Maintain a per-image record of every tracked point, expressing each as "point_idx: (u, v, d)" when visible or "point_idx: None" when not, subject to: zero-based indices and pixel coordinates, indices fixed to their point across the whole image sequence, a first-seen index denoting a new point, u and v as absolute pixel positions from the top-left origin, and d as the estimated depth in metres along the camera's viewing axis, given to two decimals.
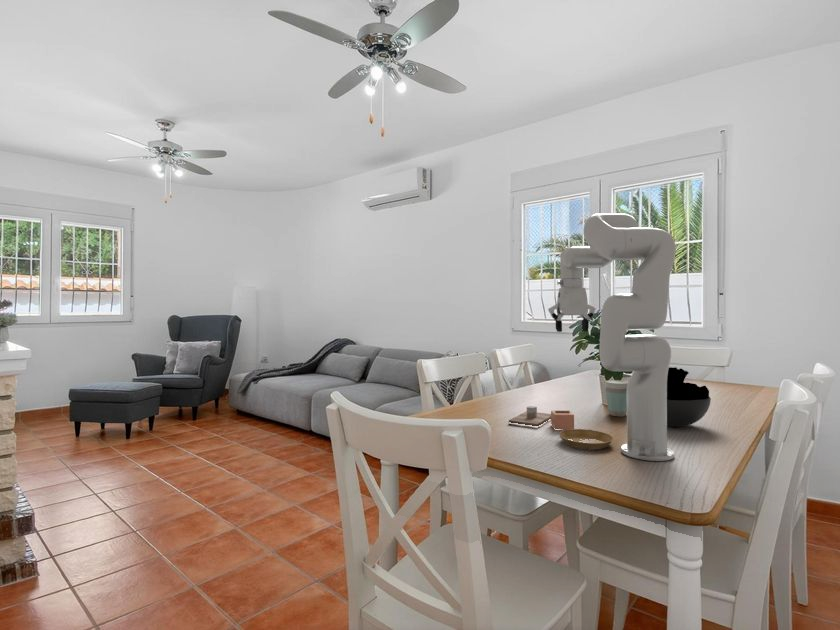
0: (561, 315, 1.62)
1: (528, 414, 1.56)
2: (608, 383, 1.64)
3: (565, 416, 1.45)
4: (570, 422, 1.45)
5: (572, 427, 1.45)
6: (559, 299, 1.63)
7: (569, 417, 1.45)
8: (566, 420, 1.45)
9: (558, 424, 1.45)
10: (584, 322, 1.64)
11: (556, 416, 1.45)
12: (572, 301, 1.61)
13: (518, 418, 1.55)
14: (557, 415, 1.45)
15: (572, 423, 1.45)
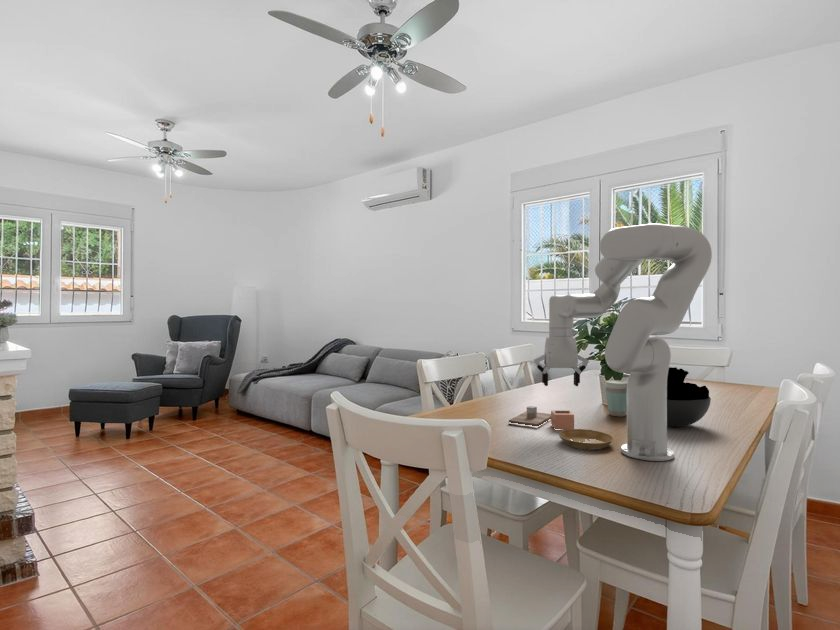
0: None
1: (528, 414, 1.56)
2: (608, 383, 1.64)
3: (565, 416, 1.45)
4: (570, 422, 1.45)
5: (572, 427, 1.45)
6: None
7: (569, 417, 1.45)
8: (566, 420, 1.45)
9: (558, 424, 1.45)
10: None
11: (556, 416, 1.45)
12: None
13: (518, 418, 1.55)
14: (557, 415, 1.45)
15: (572, 423, 1.45)
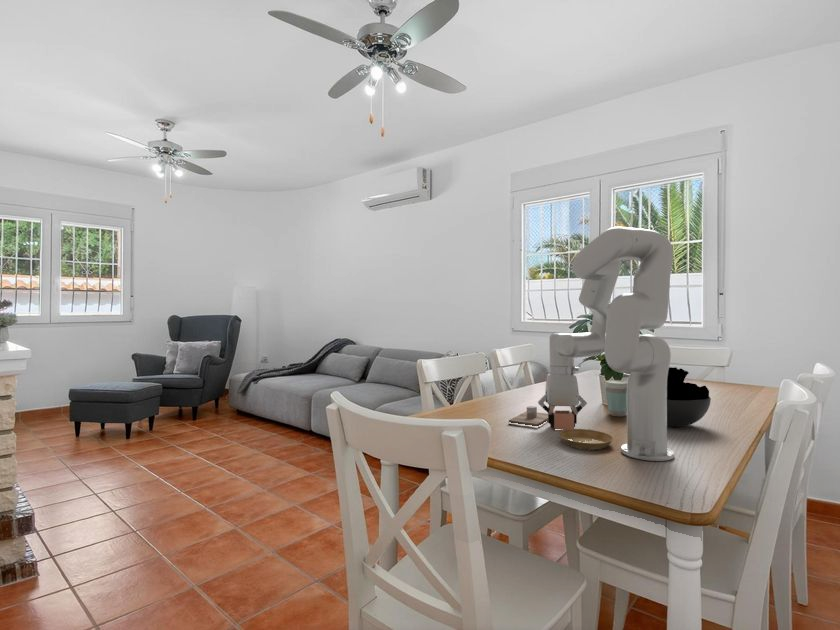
0: None
1: (528, 414, 1.56)
2: (608, 383, 1.64)
3: (565, 416, 1.45)
4: (570, 422, 1.45)
5: (572, 427, 1.45)
6: None
7: (569, 417, 1.45)
8: (566, 420, 1.45)
9: (558, 424, 1.45)
10: None
11: (556, 416, 1.45)
12: None
13: (518, 418, 1.55)
14: (557, 415, 1.45)
15: (572, 423, 1.45)
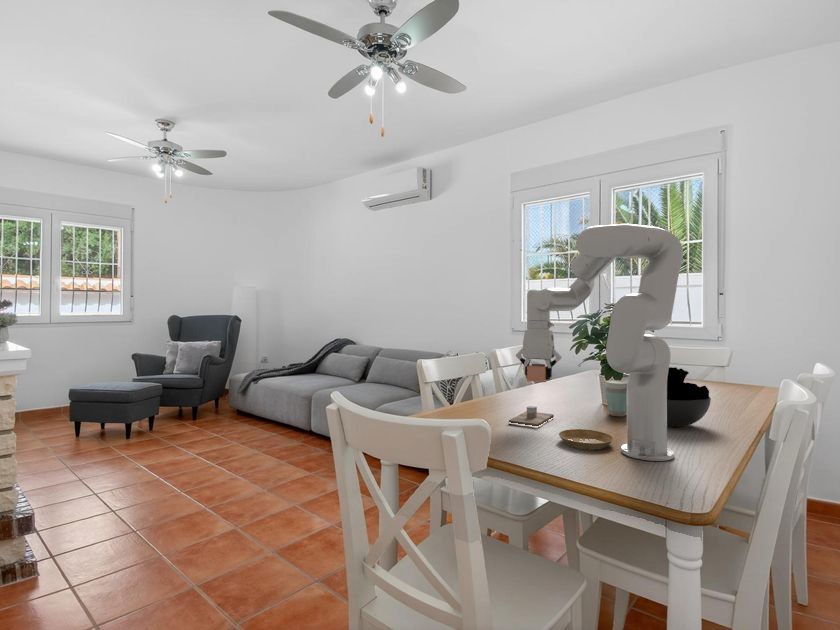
0: None
1: (528, 414, 1.56)
2: (608, 383, 1.64)
3: (536, 368, 1.52)
4: (541, 375, 1.51)
5: (543, 379, 1.51)
6: (553, 342, 1.53)
7: (540, 369, 1.51)
8: (537, 372, 1.52)
9: (530, 375, 1.53)
10: None
11: (528, 368, 1.53)
12: None
13: (518, 418, 1.55)
14: (529, 367, 1.53)
15: (543, 375, 1.51)
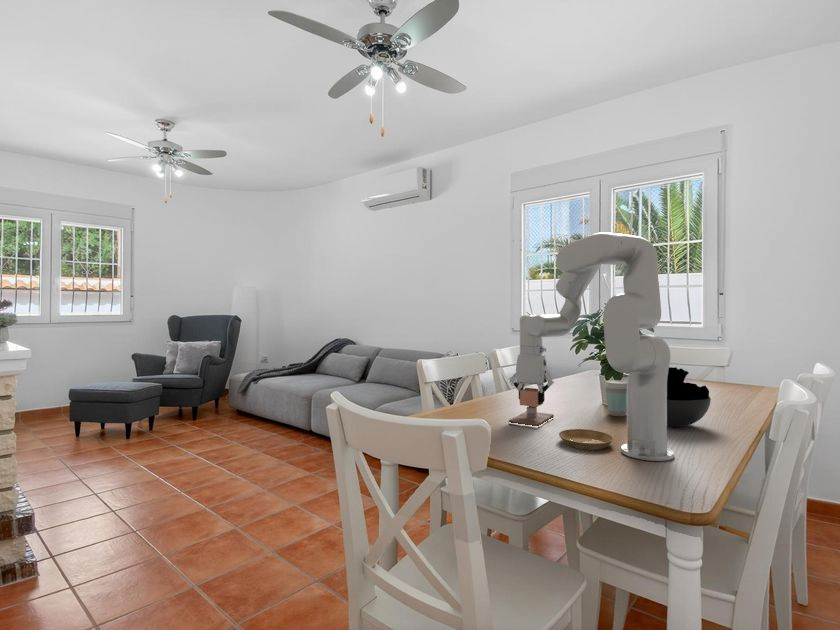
0: None
1: (528, 414, 1.56)
2: (608, 383, 1.64)
3: (529, 393, 1.54)
4: (533, 399, 1.54)
5: (535, 404, 1.53)
6: (545, 367, 1.54)
7: (532, 394, 1.53)
8: (529, 396, 1.54)
9: (522, 400, 1.55)
10: None
11: (521, 392, 1.56)
12: None
13: (518, 418, 1.55)
14: (522, 391, 1.56)
15: (535, 400, 1.53)
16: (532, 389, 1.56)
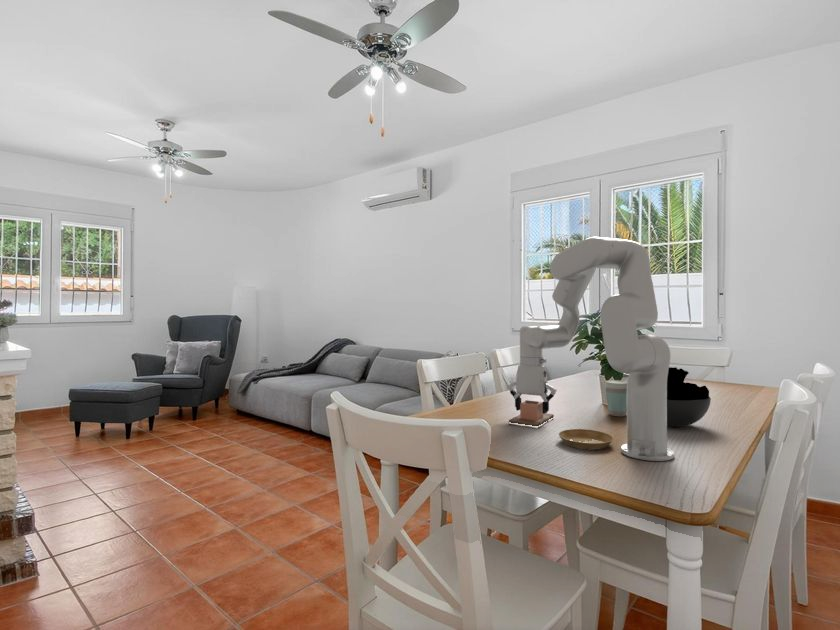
0: None
1: None
2: (608, 383, 1.64)
3: (529, 406, 1.54)
4: (533, 412, 1.53)
5: (535, 417, 1.53)
6: (546, 378, 1.54)
7: (532, 407, 1.53)
8: (530, 409, 1.54)
9: (523, 412, 1.55)
10: (520, 400, 1.60)
11: (521, 405, 1.56)
12: None
13: (518, 418, 1.55)
14: (522, 404, 1.56)
15: (535, 413, 1.53)
16: (532, 402, 1.56)
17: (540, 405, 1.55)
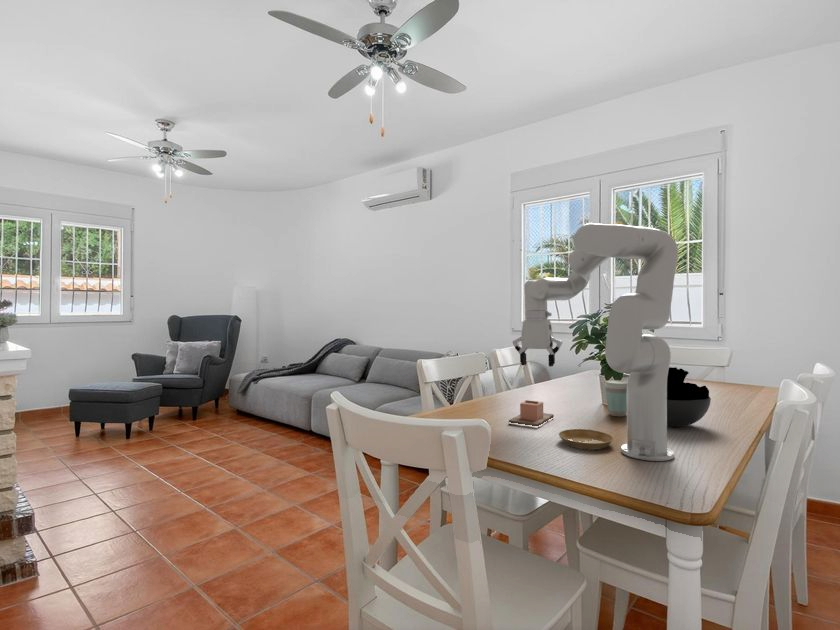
0: None
1: None
2: (608, 383, 1.64)
3: (529, 406, 1.54)
4: (533, 412, 1.53)
5: (535, 417, 1.53)
6: (551, 331, 1.55)
7: (532, 407, 1.53)
8: (530, 409, 1.54)
9: (523, 412, 1.55)
10: (525, 355, 1.60)
11: (521, 405, 1.56)
12: None
13: (518, 418, 1.55)
14: (522, 404, 1.56)
15: (535, 413, 1.53)
16: (532, 402, 1.56)
17: (540, 405, 1.55)
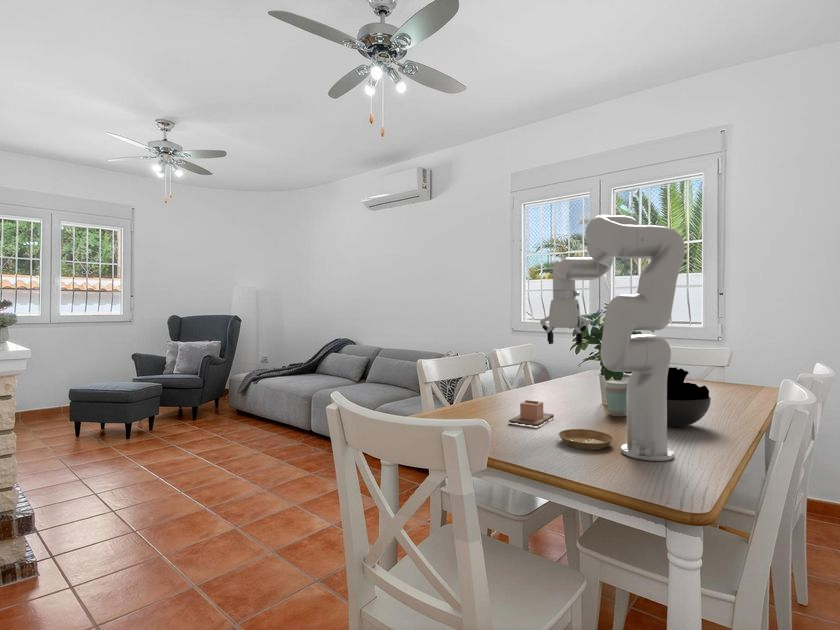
0: None
1: None
2: (608, 383, 1.64)
3: (529, 406, 1.54)
4: (533, 412, 1.53)
5: (535, 417, 1.53)
6: (579, 311, 1.58)
7: (532, 407, 1.53)
8: (530, 409, 1.54)
9: (523, 412, 1.55)
10: (552, 334, 1.63)
11: (521, 405, 1.56)
12: None
13: (518, 418, 1.55)
14: (522, 404, 1.56)
15: (535, 413, 1.53)
16: (532, 402, 1.56)
17: (540, 405, 1.55)
